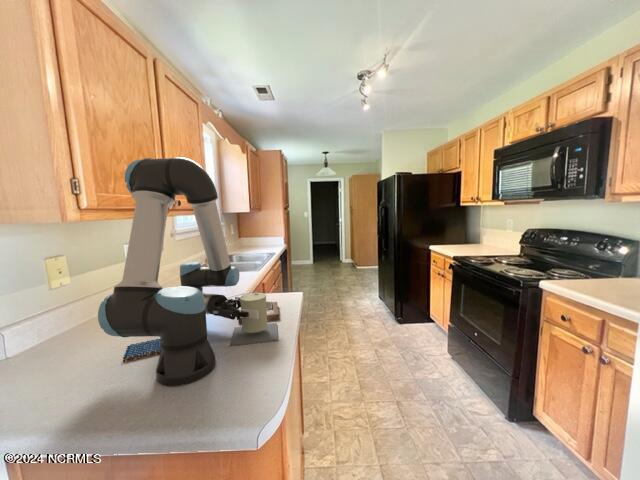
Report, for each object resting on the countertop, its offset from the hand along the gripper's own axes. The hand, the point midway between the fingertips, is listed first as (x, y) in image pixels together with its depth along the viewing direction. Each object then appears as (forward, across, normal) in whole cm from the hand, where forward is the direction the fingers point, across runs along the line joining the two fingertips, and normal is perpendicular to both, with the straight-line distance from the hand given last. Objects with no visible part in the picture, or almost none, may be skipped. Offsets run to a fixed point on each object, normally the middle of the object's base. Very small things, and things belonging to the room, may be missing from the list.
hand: (265, 309), depth 95 cm
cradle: (-14, -18, -10) cm, 24 cm away
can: (-5, 0, -7) cm, 9 cm away
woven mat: (-33, +20, -10) cm, 40 cm away
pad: (-4, 0, -10) cm, 11 cm away
